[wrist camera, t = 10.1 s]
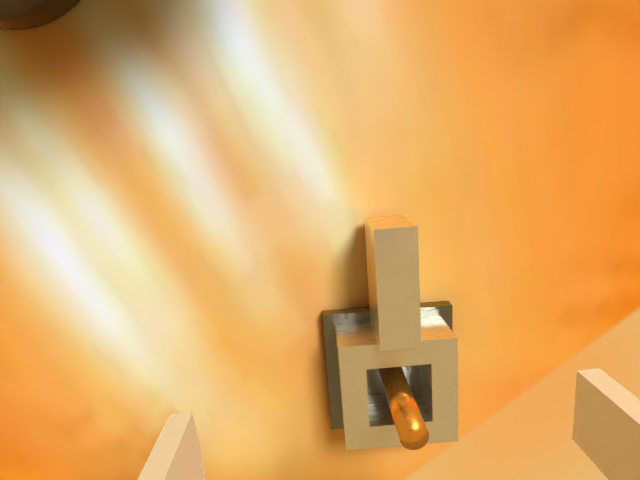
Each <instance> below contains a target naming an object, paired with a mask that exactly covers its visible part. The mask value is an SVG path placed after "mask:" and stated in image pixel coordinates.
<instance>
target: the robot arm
mask: <svg viewBox="0 0 640 480" xmlns="http://www.w3.org/2000/svg"><path fill="white" fill-rule="evenodd" d="M78 1H79V0H0V28H4V29H23V28H31V27H35V26H39V25H42V24H45V23H48V22H50V21H52V20H54V19H56V18H58V17H60V16H61V15H63V14H64V13H66V12H67V11H68V10H70V9H71V8H72V7H73V6H74V5H75V4H76V3H77V2H78ZM572 439H573V440H574V441H575V442H576V443H577V445H578V446H579V447H580V448H581V449H582V450H583V451H584V453H586V455H587V456H588V457H589V458H590V459H591V460H592V461H593V463H594V464H595V465H596V466H597V467H598V468H599V469H600V471H601V472H602V473H603V474H604V475H605V476H606V477H607V478H608V480H640V400H639V399H638V398H637V397H635V396H634V395H633V394H631V393H630V392H629V391H628V390H626V389H625V388H624V387H622V386H621V385H620V384H619V383H617V382H616V381H615V380H614V379H612V378H611V377H610V376H608V375H607V374H606V373H605V372H603V371H602V370H601V369H599V368H598V369H590V370H581V371H577V380H576V394H575V408H574V424H573V438H572ZM138 480H206V476H205V471H204V466H203V461H202V456H201V452H200V447H199V442H198V437H197V432H196V427H195V423H194V418H193V413H192V412H191V413H181V414H172V415H169V417H168V419H167V421H166V423H165V425H164V427H163V429H162V431H161V433H160V435H159V437H158V439H157V441H156V443H155V445H154V447H153V450H152V452H151V454H150V456H149V458H148V460H147V462H146V464H145V466H144V468H143V470H142V472H141V474H140V476H139V478H138Z"/></svg>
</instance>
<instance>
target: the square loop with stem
mask: <svg viewBox="0 0 640 480" xmlns="http://www.w3.org/2000/svg"><path fill="white" fill-rule="evenodd" d="M364 224H365V241H366V258H367V275H368V292H369V309H370V322H368V323H356V324H345V325H335V331H336V343H337V356H338V368H339V381H340V394H341V406H342V419H343V427H344V436H345V444H346V451H348V450H360V449H371V448H383V447H395V446H403V445H402V444H401V442H400V440H399V436H398V433H397V430H396V427H395V423H394V420H393V417H392V414H391V410H390V407H389V404H388V401H387V397H386V395H375V396H368V391H367V375H366V370H367V369H379V368H391V367H402V366H414V365H419V392H412V394H413V396H414V398H415V401H416V403H417V406H418V408H419V410H420V413H421V415H422V418H423V420H424V422H425V425H426V427H427V430H428V432H429V440H428V442H427V444H429V443H441V442H453V441H458V361H457V337H456V335H455V334H454V333H453V332H452V330H451V329H450V328H449V326H448V325H447V324H446V323H445V321H444V320H443V319H442V318H441V316H439V317H427V318H420V289H419V255H418V226H417V225H415V224H414V223H412V222H411V221H409V220H408V219H407V218H405V217H404V216H402V215H394V216H382V217H370V218H364Z"/></svg>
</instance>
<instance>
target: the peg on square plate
mask: <svg viewBox="0 0 640 480" xmlns="http://www.w3.org/2000/svg"><path fill="white" fill-rule="evenodd" d="M322 315H323V328H324V340H325V353H326V366H327V379H328V391H329V404H330V417H331V429H338V428H344V427H343V419H342V406H341V394H340V381H339V368H338V356H337V343H336V331H335V325H345V324H356V323H368V322H370V309H369V307H365V308H352V309H340V310H327V311H322ZM439 316H441V318H442V319H443V320H444V321H445V323H446V324H447V325H448V326H449V328H450V329H451V330H452V304H451V303H450V302H449V301H441V302H429V303H420V318H427V317H439ZM366 375H367V391H368V396H375V395H386V397H387V401H388V404H389V407H390V410H391V414H392V417H393V420H394V423H395V427H396V430H397V433H398V436H399V440H400V442H401V444H402V445H403V446H404V447H405V448H407V449H410V450H417V449H420V448H422V447H423V446H425V445H426V444H427V442H428V440H429V432H428V430H427V427H426V425H425V422H424V420H423V418H422V415H421V413H420V410H419V408H418V406H417V403H416V401H415V398H414V396H413V394H412V392H419V365H414V366H402V367H391V368H379V369H367V370H366Z"/></svg>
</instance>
